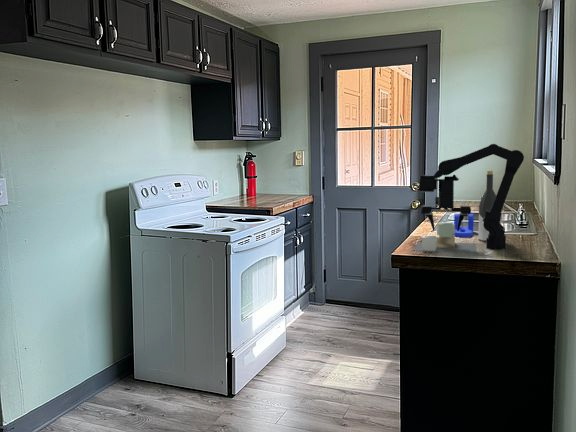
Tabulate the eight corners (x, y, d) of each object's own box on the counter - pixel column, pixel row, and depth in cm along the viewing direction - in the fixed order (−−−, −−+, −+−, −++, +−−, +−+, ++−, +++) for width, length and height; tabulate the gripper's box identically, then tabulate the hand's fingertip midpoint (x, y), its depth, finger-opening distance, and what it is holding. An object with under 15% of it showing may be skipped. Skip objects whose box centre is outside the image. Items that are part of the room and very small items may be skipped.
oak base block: (454, 244, 221) (454, 234, 221) (454, 247, 214) (454, 237, 214) (436, 244, 223) (436, 234, 223) (436, 247, 216) (436, 237, 216)
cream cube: (436, 248, 214) (436, 235, 213) (435, 250, 209) (435, 238, 209) (422, 248, 216) (422, 235, 215) (422, 250, 211) (422, 237, 210)
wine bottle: (500, 244, 224) (502, 171, 220) (479, 244, 226) (481, 171, 222) (497, 241, 232) (498, 170, 228) (477, 240, 233) (478, 170, 230)
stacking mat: (475, 245, 223) (475, 223, 221) (477, 255, 204) (477, 231, 203) (417, 244, 229) (417, 223, 228) (413, 253, 210) (413, 230, 209)
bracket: (455, 231, 261) (455, 212, 260) (473, 231, 258) (473, 212, 257) (452, 237, 245) (452, 217, 244) (471, 238, 242) (471, 217, 241)
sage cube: (452, 235, 220) (452, 222, 219) (452, 237, 215) (452, 224, 214) (439, 234, 221) (439, 222, 221) (439, 237, 216) (439, 224, 216)
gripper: (470, 190, 221) (469, 228, 223) (423, 190, 226) (422, 227, 228) (471, 192, 210) (470, 232, 212) (421, 192, 216) (421, 231, 218)
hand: (445, 231), depth 218 cm, fingers open, 9 cm apart
